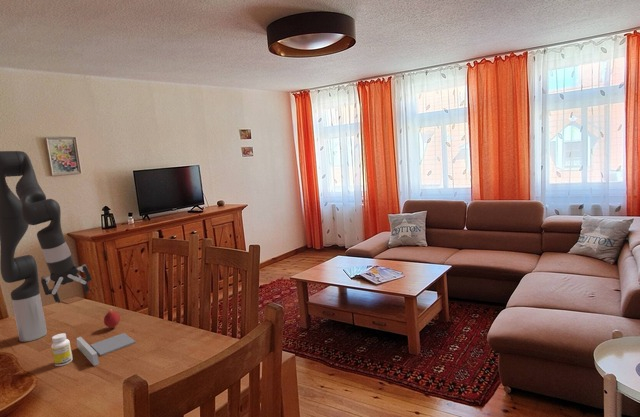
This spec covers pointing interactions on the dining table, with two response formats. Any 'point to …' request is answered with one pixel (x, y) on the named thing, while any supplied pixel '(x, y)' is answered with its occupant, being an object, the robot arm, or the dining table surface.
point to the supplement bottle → (61, 350)
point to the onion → (111, 319)
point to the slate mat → (112, 344)
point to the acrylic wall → (87, 351)
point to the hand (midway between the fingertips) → (73, 297)
